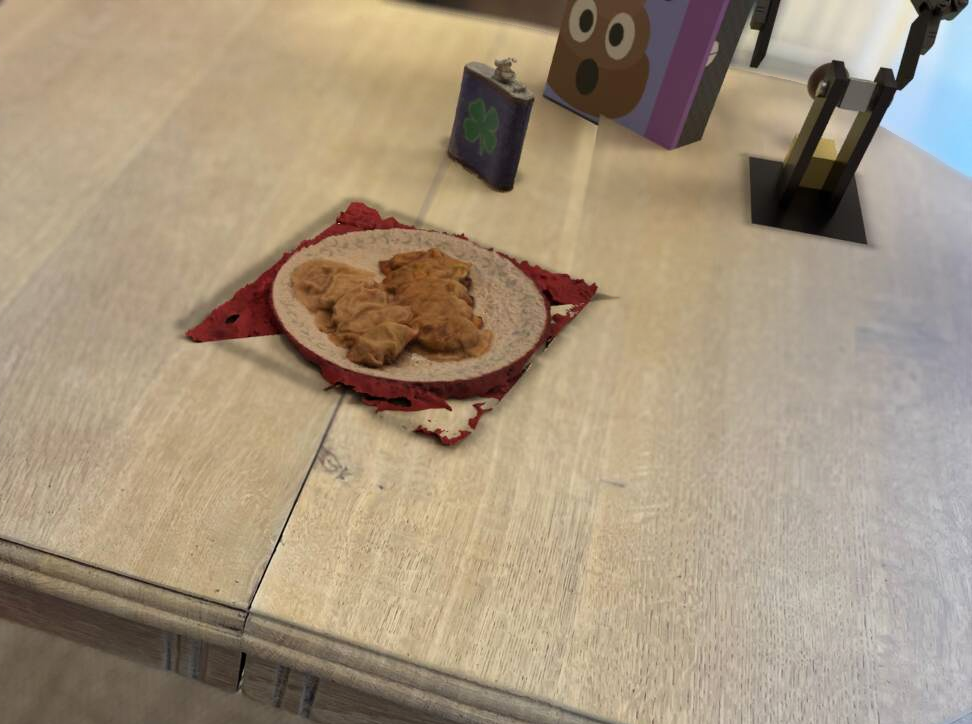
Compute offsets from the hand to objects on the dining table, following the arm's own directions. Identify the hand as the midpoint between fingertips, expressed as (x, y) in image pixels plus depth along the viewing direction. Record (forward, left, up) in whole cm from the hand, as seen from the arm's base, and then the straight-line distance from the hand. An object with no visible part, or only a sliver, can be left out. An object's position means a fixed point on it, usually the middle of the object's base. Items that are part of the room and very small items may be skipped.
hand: (829, 73), depth 104 cm
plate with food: (-22, +52, -8) cm, 57 cm away
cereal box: (+9, +16, -8) cm, 20 cm away
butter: (-7, +5, -7) cm, 11 cm away
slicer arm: (-7, +4, 0) cm, 8 cm away
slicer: (-11, +7, -8) cm, 15 cm away
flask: (+1, +35, -8) cm, 36 cm away
